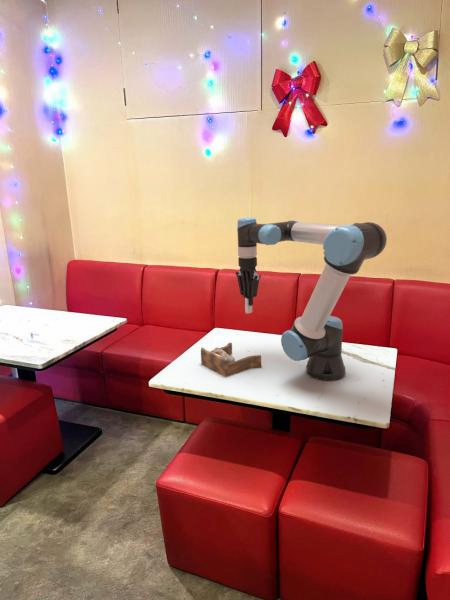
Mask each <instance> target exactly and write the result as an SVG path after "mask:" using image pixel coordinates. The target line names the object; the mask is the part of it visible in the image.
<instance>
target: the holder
mask: <svg viewBox="0 0 450 600" xmlns="http://www.w3.org/2000/svg"><path fill="white" fill-rule="evenodd" d="M220 348H221V349H222V350H224V351H225V352H226V353H227V354H228V355H230V356H232V355H233V342H228V343H227V344H226V345H225V346H222V347H220ZM213 350H214V349H212V350H209V349H207V348H205V347H203V346H201V348H200V362H201V366H203V367H207V368H208V369H209V370H211V371H213V372H215V373H217V374H219V375H221V376H223V377H225V378H228V377H230V376H234V375H236V374H239V373H241V372H245V371H247V370H250V369H257V368H258V369H259V368H262V355H261V354H257V355H249V356H245V357H243V358H241V359H238V360H235V361H234V362H231V363H229V364H228V361H227V359H226V358H224V357H222V356H220V355H218V354H215V353H213Z"/></svg>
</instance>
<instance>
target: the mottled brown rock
mask: <svg viewBox="0 0 450 600" xmlns="http://www.w3.org/2000/svg"><path fill="white" fill-rule="evenodd" d="M212 350H213V353H215V354H218V355H220V356H222V357H224V358H226V359H227V361H228V364H229V363H231V362H234V361H236V358H235V356H233V355H228V354H227V353H226V352H225V351H224V350H222V349H221V347H215V348H214V349H212Z"/></svg>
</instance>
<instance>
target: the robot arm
mask: <svg viewBox="0 0 450 600" xmlns="http://www.w3.org/2000/svg"><path fill="white" fill-rule="evenodd" d="M236 225H237V228H236V230H237V256H238V267H240V268H239V270H238V271H236V272H235V275H236V277H237V283H238V289H239V293H240V295H241V296H242V297H243V300H244V311H245V312H244V313H245V314H251V313H253V305H254V298H256V297H257V296H258V289H259V284H260V283H259V282H260V279H261V278H262V276H261V274H258V273H257V270H256V269H257V268H256V267H257V266H258V258H257V255H258V253H257V251H258V250H257V248H258V247H257V244H259V245H266V246H274V245H277V244H278V243H280V242H288V241H289V242H297V243H298V242H299V243H307V244H314V245H322V249H323V255H324V256H323V261H324V263H325V266H324V268H323V269H322V272H321V274H320V276H319V279H318V281H317V283H316V285H315V286H314V289H313V291H312V293H311V295H310V298H309V300H308V302H307V304H306V307H305V308H304V311H303V313H302V316H298V317H296V318H295V320H294V322H293V323H292V327H291V329H288V330H286V331H284V332H283V333H282V335H281V337H280V343H281V344H280V345H281V347H282V350H283V352H284V353H285V355H286V356H287V357H288V358H289V359H291V360H293V361H295V362H300V361H304V360H307V359H308V360H307V364H306V367H305V369H306V370H305V372H306V375H307V376H309V377H310V378H313V379H316V380H320V381H326V382H327V381H329V382H330V381H337V380H341V379H342V378H344V377H346V366H345V364H344V359H343V357H342V351H343V349H342V347H343V330H344V328H343V327H344V326H343V321H342V320H341V319H340V318H339V317H337V316H333V315H331V314H332V312H333V311H334V308H335V306H336V304H337V303H338V301H339V299H340V297H341V295H342V293H343V291H344V289H345V287H346V285H347V283H348V281H349V279H350V277H351V276H354V275H356V274H357V273H358V272H359V271H360V269H361V267H362V265H363V263H364V261H365V260H369V259H374V258H375V257H378V256H379V255H380V254H381V253H382V252H383V251H384V250H385V247H386V245H387V242H388V239H387V234H386V231H385V230H384V228H383V227H382V226H381V225H379V224H377V223H376V222H375V223H374V222H370V221H367V222H355V223H354V222H353V223H352V224H329V223H318V222H317V223H316V222H302V221H301V222H300V221H298V220H288V221H281V222H273V223H271V222H270V223H257V218H256V217H240V218H238V219H237V224H236Z"/></svg>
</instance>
